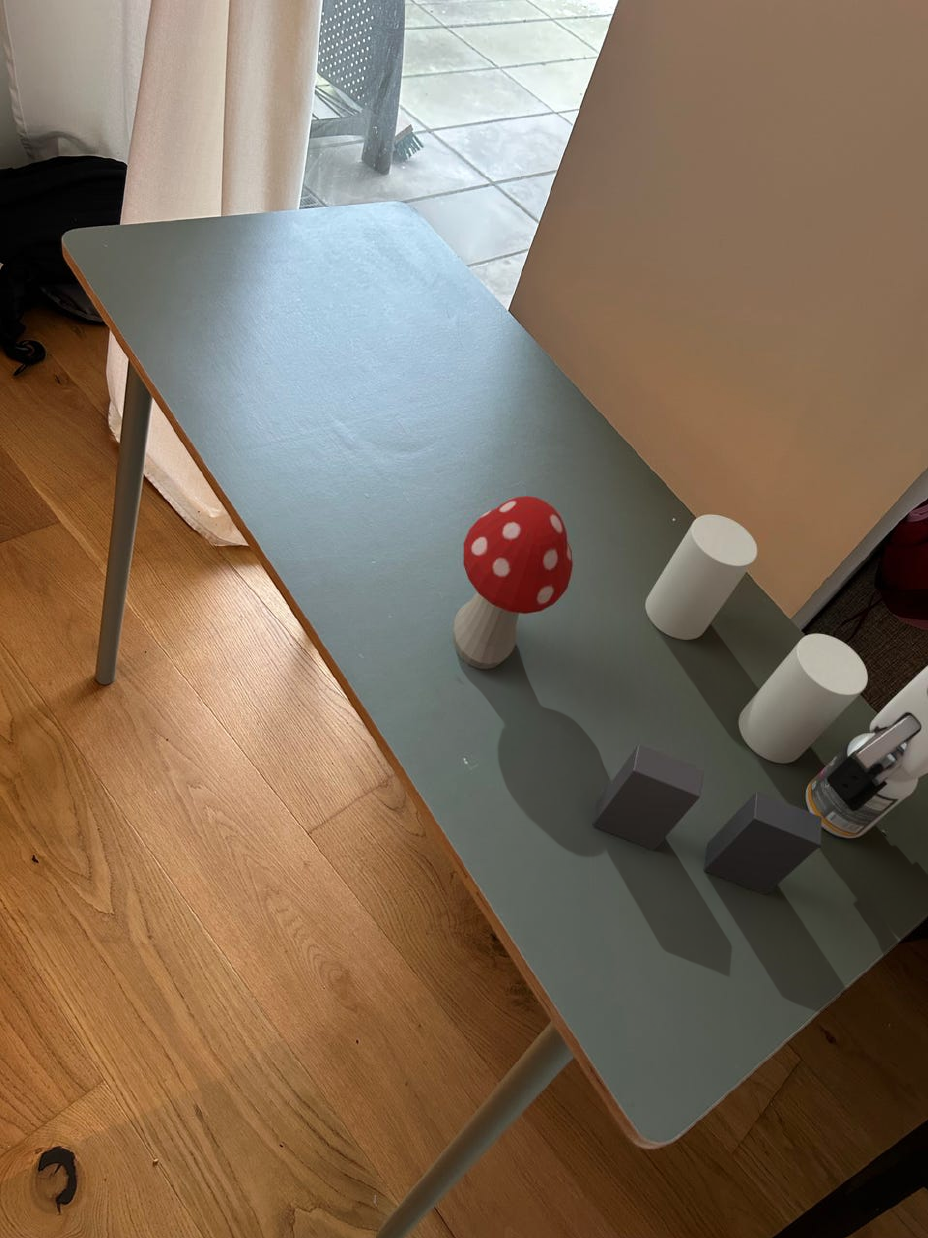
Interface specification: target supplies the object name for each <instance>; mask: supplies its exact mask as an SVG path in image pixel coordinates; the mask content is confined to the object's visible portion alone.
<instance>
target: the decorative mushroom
mask: <svg viewBox="0 0 928 1238" xmlns="http://www.w3.org/2000/svg"><path fill="white" fill-rule="evenodd" d="M462 559H463V563H462V564H463V567H464V571H465V574H466V576H467V580H468V581H469V583H470V584H471V585H472V587H473V588H474V589H475V591H476V592H475V594H474V596H472V598H471V599H470V600H468V602H466V603H465V604H463V605H462V606H461V608H460V609H459V610H458V612H457V613H456V615H455V618H454V620H453V644H454V647H455V651H456V653H457V654H458V656H459V657H460V659H461V660H462V661H463V662H465V663H466V664H467V665H468V666H471V667H473V668H475V669H480V670H488V669H493V668H495V667H497V666H498V665H499V664H501V663H502V662H504V661H505V660H506V659H507V658H508V657H510V655H511V653H512V652H513V651H514V649H515V648H516V647H515V645H516V643H517V625H518V619H519V615H520V614H523V615H527V614H533V613H540V612H543V611H544V610H546V609H548V608H550V607H551V606H553V605H554V604H555V603H556V602H557V601H558V600H559V599H560V598H561V597H562V596H563V594H564V593H565V592H567V590H568V587H569V584H570V580H571V577H572V572H573V567H574V564H573V563H574V562H573V552H572V549H571V546H570V543H569V541H568V533H567V529H566V527H565V524H564V521H563V519H562V517H561V515H560V514H559V512H558V511H557V510H556V509H555V507H553V506H552V505H551V504H549V502H547V501H545V500H543V499H541V498H539V497H536V496H531V495H525V496H516V497H513V498H511V499H509V500H507V501H505V502H502V503H501V504H500V505H498V506H497V507H496V508H494V509H491V510H489V511H486V512H484V513H483V514H482V515H481V516H480V517H479V518H478V519H477V520H476V521H475V522H474V523H473V524H472V526H471V527H469V530H468V531H467V534H466V536H465V538H464V541H463V558H462Z"/></svg>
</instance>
